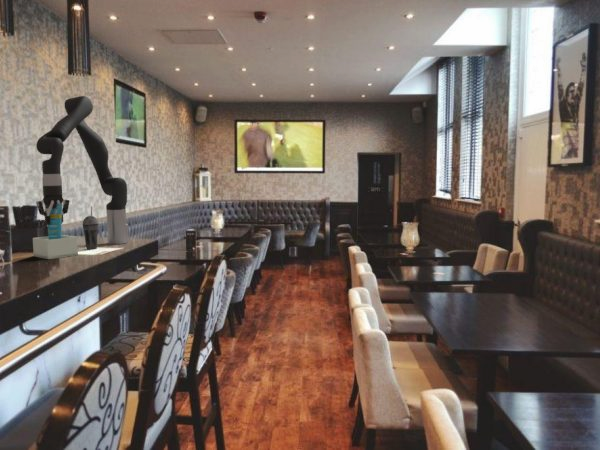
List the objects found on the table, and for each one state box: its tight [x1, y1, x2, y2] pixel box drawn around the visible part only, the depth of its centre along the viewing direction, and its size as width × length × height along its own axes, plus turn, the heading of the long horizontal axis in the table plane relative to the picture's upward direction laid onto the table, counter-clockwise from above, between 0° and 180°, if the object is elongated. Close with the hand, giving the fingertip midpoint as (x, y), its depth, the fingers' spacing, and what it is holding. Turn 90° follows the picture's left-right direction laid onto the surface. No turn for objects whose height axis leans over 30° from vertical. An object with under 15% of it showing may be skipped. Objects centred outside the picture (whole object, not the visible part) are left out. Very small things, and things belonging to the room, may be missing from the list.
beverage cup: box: [82, 206, 99, 250], centre depth 254 cm, size 7×7×20 cm
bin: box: [32, 234, 79, 260], centre depth 234 cm, size 13×13×8 cm
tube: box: [44, 203, 63, 240], centre depth 233 cm, size 7×5×19 cm, turn 98°
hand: (54, 224), depth 233 cm, fingers closed on tube, 4 cm apart
